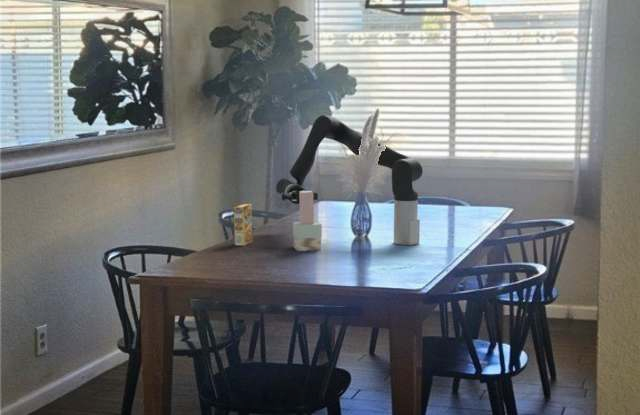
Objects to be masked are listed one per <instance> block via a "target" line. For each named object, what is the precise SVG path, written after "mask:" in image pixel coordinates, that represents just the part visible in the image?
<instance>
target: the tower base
mask: <svg viewBox="0 0 640 415" xmlns="http://www.w3.org/2000/svg"><path fill="white" fill-rule="evenodd" d="M293 248H294V249H295V250H296V251H297V252H301V251H302V252H303V251H304V252H305V251H306V252H307V250H309V251H310V250H311V251H322V238H300V239H298V238H297V237H295V236H294V235H293ZM309 251H308V252H309Z"/></svg>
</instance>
